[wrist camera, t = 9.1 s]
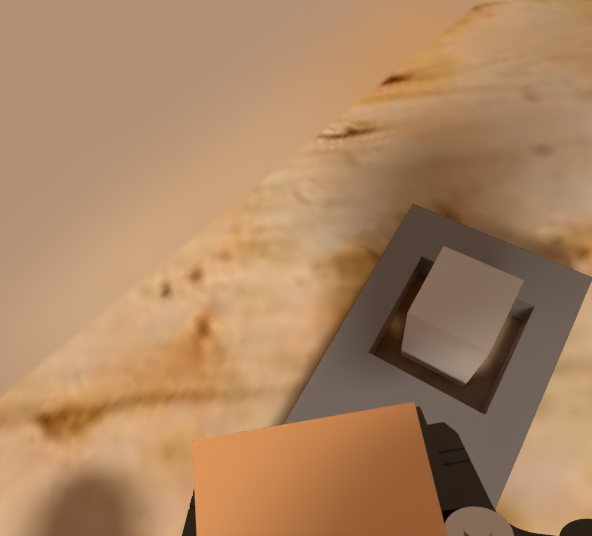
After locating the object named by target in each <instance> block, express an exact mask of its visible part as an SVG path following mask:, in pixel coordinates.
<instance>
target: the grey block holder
mask: <svg viewBox="0 0 592 536" xmlns="http://www.w3.org/2000/svg"><path fill="white" fill-rule="evenodd" d="M418 273H419V274H421V275H423V276H426V277H427V278H426V280H425V281H424V283H423V285H422V287H421V289H420V291H419V292H418V294H417V296H416V298H415V300H414V302H413V303H412V305H411V307H410V309H409V311H408V313H407V318H406V324H405V330H404V336H403V342H402V348H401V354H400V355H402V356H404V357H406V358H408V359H409V360H411V361H413V362H415V363H417V364H419V365H421V366H423V367H425V368H427V369H428V370H430V371H432V372H434V373H436V374H438V375H440V376H442V377H444V378H446V379H448V380H449V381H451V382H453V383H455V384H457V385H459V386H461V387H464V386H465V385H466V384H467V382H468V381H469V380H470V378H471V377H472V376H473V374H474V373H475V372H476V371H477V369H478V368H479V367H480V365H481V364H482V363H483V361H484V360H485V359H486V357H487V356H488V355H489V354H490V352H491V350H492V347H493V345H494V343H495V341H496V339H497V337H498V335H499V333H500V330H501V328H502V326H503V324H504V322H505V320H506V318H507V316H508V315H511V316H513V317H515V318H517V319H519V320H522V321H523V322H522V324H521V326H520V329H519V331H518V333H517V335H516V337H515V339H514V342H513V344H512V346H511V348H510V350H509V352H508V355H507V357H506V359H505V361H504V363H503V366H502V368H501V370H500V372H499V374H498V376H497V379H496V381H495V383H494V385H493V387H492V390H491V392H490V394H489V396H488V398H487V400H486V403H485V405H484V407H483V409H482V411H481V412H479V411H477V410H475V409H473V408H471V407H469V406H468V405H466V404H464V403H462V402H460V401H458V400H456V399H455V398H453V397H451V396H449V395H447V394H445V393H443V392H441V391H440V390H438V389H436V388H434V387H432V386H430V385H428V384H427V383H425V382H423V381H421V380H419V379H417V378H415V377H413V376H412V375H410V374H408V373H406V372H404V371H402V370H400V369H399V368H397V367H395V366H393V365H391V364H389V363H387V362H385V361H384V360H382V359H380V358H378V357H376V356H374V353H375V351H376V350H377V348H378V346H379V344H380V342H381V340H382V339H383V337H384V335H385V333H386V331H387V330H388V328H389V326H390V324H391V322H392V321H393V319H394V317H395V315H396V313H397V311H398V310H399V308H400V306H401V304H402V302H403V301H404V299H405V297H406V295H407V293H408V292H409V290H410V288H411V286H412V284H413V282H414V281H415V279H416V277H417V275H418ZM591 281H592V277H590V276H587V275H585V274H583V273H580V272H578V271H575V270H573V269H570V268H568V267H566V266H563V265H561V264H558V263H556V262H553V261H551V260H548V259H546V258H544V257H541V256H539V255H536V254H534V253H531V252H529V251H527V250H524V249H522V248H519V247H517V246H514V245H512V244H509V243H507V242H505V241H502V240H500V239H497V238H495V237H492V236H490V235H488V234H485V233H483V232H480V231H478V230H475V229H473V228H471V227H468V226H466V225H463V224H461V223H458V222H456V221H453V220H451V219H449V218H446V217H444V216H441V215H439V214H436V213H434V212H432V211H429V210H427V209H424V208H422V207H419V206H417V205H414V204H412V206H411V208H410V209H409V211H408V213H407V214H406V216H405V218H404V220H403V221H402V223H401V225H400V226H399V228H398V230H397V231H396V233H395V235H394V237H393V238H392V240H391V242H390V243H389V245H388V247H387V249H386V250H385V252H384V254H383V255H382V257H381V259H380V261H379V262H378V264H377V266H376V267H375V269H374V271H373V272H372V274H371V276H370V278H369V279H368V281H367V283H366V284H365V286H364V288H363V290H362V291H361V293H360V295H359V296H358V298H357V300H356V302H355V303H354V305H353V307H352V308H351V310H350V312H349V313H348V315H347V317H346V319H345V320H344V322H343V324H342V325H341V327H340V329H339V331H338V332H337V334H336V336H335V337H334V339H333V341H332V342H331V344H330V346H329V348H328V349H327V351H326V353H325V354H324V356H323V358H322V360H321V361H320V363H319V365H318V366H317V368H316V370H315V372H314V373H313V375H312V377H311V378H310V380H309V382H308V383H307V385H306V387H305V389H304V390H303V392H302V394H301V395H300V397H299V399H298V401H297V402H296V404H295V406H294V407H293V409H292V411H291V413H290V414H289V416H288V418H287V419H286V421H285V423H284V424H290V423H296V422H301V421H307V420H313V419H318V418H324V417H330V416H336V415H341V414H347V413H353V412H359V411H364V410H370V409H376V408H381V407H387V406H393V405H399V404H404V403H410V402H414V403H415V407H418V406H420V408H421V410H422V412H423V415H424V417H425V420H426V422H427V425H428V424H434V423H440V422H445V423H446V424H447V425H448V426H450V427H451V428H452V429H453V430H455V431H456V432H457V433H458V435H459V437H460V439H461V441H462V443H463V445H464V447H465V450H466V451H467V453H468V455H469V458H470V460H471V462H472V464H473V466H474V468H475V470H476V472H477V474H478V476H479V478H480V480H481V482H482V485H483V487H484V489H485V491H486V493H487V495H488V497H489V499H490V501H491V503H492V505H493V507H494V509H495V508H496V506H497V504H498V501H499V499H500V497H501V494H502V492H503V489H504V487H505V485H506V482H507V480H508V478H509V475H510V473H511V471H512V468H513V466H514V463H515V461H516V459H517V456H518V454H519V452H520V449H521V447H522V444H523V442H524V440H525V437H526V435H527V433H528V430H529V428H530V426H531V423H532V421H533V418H534V416H535V414H536V411H537V409H538V407H539V404H540V402H541V399H542V397H543V395H544V392H545V390H546V388H547V385H548V383H549V381H550V378H551V376H552V373H553V371H554V369H555V366H556V364H557V362H558V359H559V357H560V354H561V352H562V350H563V347H564V345H565V343H566V340H567V338H568V336H569V333H570V331H571V328H572V326H573V324H574V321H575V319H576V317H577V314H578V312H579V309H580V307H581V305H582V302H583V300H584V298H585V295H586V293H587V291H588V288H589V286H590V283H591ZM284 424H283V425H284Z"/></svg>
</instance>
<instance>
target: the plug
mask: <svg viewBox="0 0 592 536" xmlns="http://www.w3.org/2000/svg"><path fill="white" fill-rule="evenodd" d="M192 451H193V471H194V491H195V511H196V532H197V536H447V532H446V528H445V524H444V520H443V516H442V512H441V508H440V504H439V500H438V496H437V492H436V488H435V484H434V480H433V476H432V472H431V468H430V464H429V460H428V456H427V451H426V447H425V443H424V439H423V435H422V431H421V427H420V423H419V419H418V415H417V411H416V407H415V403H414V402H410V403H404V404H399V405H393V406H387V407H381V408H376V409H370V410H364V411H359V412H353V413H347V414H341V415H336V416H330V417H324V418H318V419H313V420H307V421H301V422H296V423H290V424H284V425H278V426H273V427H267V428H261V429H255V430H250V431H244V432H238V433H232V434H227V435H221V436H215V437H210V438H204V439H198V440H192Z"/></svg>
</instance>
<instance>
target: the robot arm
mask: <svg viewBox="0 0 592 536" xmlns="http://www.w3.org/2000/svg"><path fill="white" fill-rule="evenodd" d="M416 411H417V415H418V419H419V423H420V427H421V431H422V435H423V439H424V443H425V447H426V451H427V456H428V460H429V464H430V468H431V472H432V476H433V480H434V484H435V488H436V492H437V496H438V500H439V504H440V508H441V512H442V516H443V520H444V524H445V528H446V532H447V536H553V535H545V534H537V533H531V532H527V531H524V530H521V529H518V528H516V527H514V526H512V525H511V524H509V523H508V522H507V521H506V520H505V519H504V518H503V517H502V516H501V515H499V514H498V513H497V512H496V511H495V509H494V507H493V505H492V503H491V501H490V499H489V497H488V495H487V493H486V491H485V489H484V487H483V485H482V482H481V480H480V478H479V476H478V474H477V472H476V470H475V468H474V466H473V464H472V462H471V460H470V458H469V455H468V453H467V451H466V450H465V447H464V445H463V443H462V441H461V439H460V437H459V435H458V433H457V432H456V431H455V430H453V429H452V428H451V427H450V426H448V425H447V424H446V423H445V422H440V423H434V424H428V425H427V422H426V420H425V417H424V415H423V412H422V410H421V408H420V406H418V407H416ZM182 536H197V532H196V511H195V491H193V496H192V499H191V502H190V509H189V510H188V514H187V518H186V522H185V526H184V530H183V534H182ZM559 536H592V519H579V520H575V521H572V522H570V523H568V524H567V525H566V526H565V527H564V528H563V529H562V530H561V532H560V535H559Z"/></svg>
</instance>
